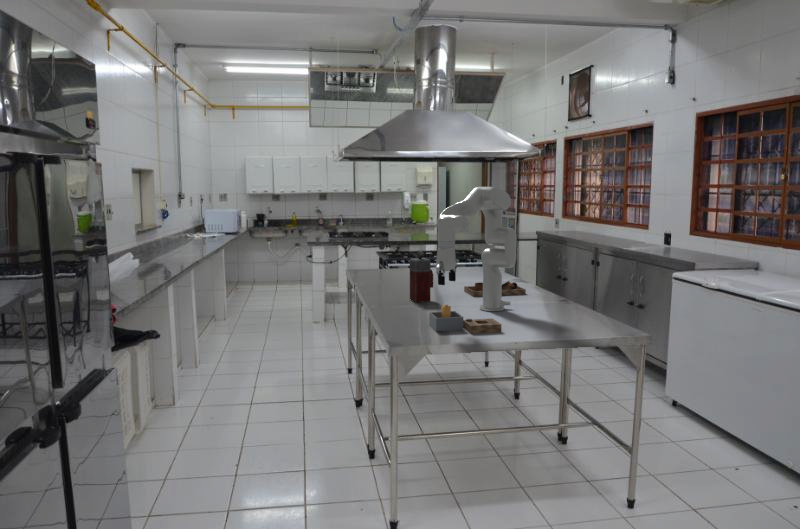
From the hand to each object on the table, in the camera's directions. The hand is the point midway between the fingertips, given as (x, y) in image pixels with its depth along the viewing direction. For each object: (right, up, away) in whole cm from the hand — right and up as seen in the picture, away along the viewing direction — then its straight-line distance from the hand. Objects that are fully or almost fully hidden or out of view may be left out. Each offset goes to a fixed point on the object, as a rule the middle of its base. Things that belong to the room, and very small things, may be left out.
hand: (446, 282), depth 252 cm
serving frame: (+35, -9, +84) cm, 91 cm away
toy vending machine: (-9, -12, +63) cm, 65 cm away
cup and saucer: (+27, -9, +82) cm, 87 cm away
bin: (0, -20, +2) cm, 20 cm away
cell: (0, -19, +2) cm, 20 cm away
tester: (+15, -21, -2) cm, 26 cm away
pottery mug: (+44, -9, +83) cm, 94 cm away
